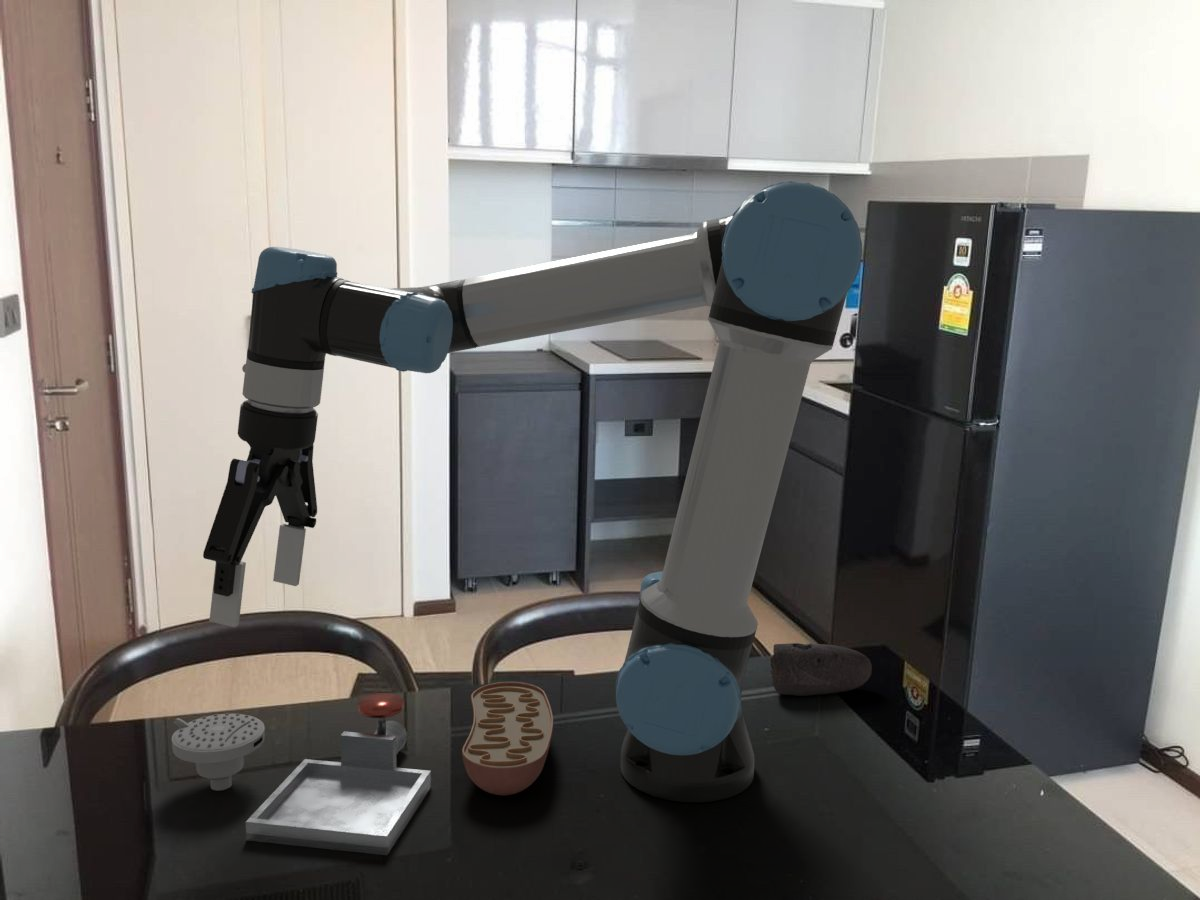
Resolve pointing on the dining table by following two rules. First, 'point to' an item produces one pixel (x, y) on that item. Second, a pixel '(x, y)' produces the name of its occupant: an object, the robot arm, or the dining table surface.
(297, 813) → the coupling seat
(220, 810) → the dining table surface
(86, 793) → the dining table surface
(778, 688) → the perforated stone tool
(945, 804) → the dining table surface
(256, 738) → the showerhead
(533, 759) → the anatomical model
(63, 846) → the dining table surface
